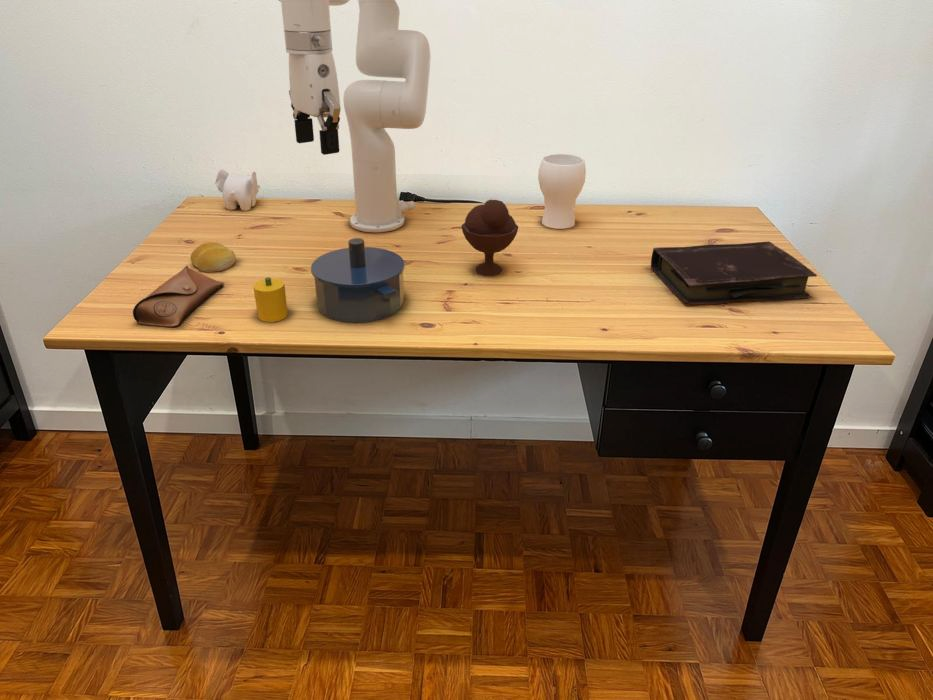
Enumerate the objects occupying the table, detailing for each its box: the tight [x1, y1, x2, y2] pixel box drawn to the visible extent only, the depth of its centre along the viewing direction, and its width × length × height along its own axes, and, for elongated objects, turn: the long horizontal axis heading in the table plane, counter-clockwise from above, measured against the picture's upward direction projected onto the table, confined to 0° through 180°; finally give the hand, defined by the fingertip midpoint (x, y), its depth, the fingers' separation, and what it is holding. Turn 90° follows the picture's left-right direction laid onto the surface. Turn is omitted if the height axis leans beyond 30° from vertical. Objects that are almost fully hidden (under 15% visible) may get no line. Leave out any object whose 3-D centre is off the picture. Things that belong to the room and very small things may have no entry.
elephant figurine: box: [214, 169, 261, 212], centre depth 176 cm, size 10×12×9 cm
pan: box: [313, 271, 405, 324], centre depth 132 cm, size 16×21×7 cm
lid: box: [310, 237, 406, 288], centre depth 129 cm, size 17×17×6 cm
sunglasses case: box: [132, 265, 225, 328], centre depth 132 cm, size 18×7×7 cm
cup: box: [537, 153, 587, 230], centre depth 166 cm, size 11×11×15 cm
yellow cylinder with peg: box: [252, 276, 289, 323], centre depth 127 cm, size 5×5×7 cm
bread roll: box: [190, 241, 236, 273], centre depth 147 cm, size 8×9×4 cm
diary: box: [650, 241, 818, 305], centre depth 141 cm, size 19×25×5 cm
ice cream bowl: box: [461, 199, 519, 277], centre depth 142 cm, size 11×11×15 cm
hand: (317, 147), depth 127 cm, fingers open, 9 cm apart
